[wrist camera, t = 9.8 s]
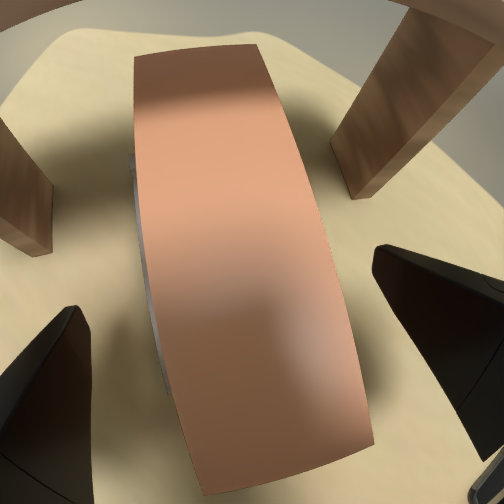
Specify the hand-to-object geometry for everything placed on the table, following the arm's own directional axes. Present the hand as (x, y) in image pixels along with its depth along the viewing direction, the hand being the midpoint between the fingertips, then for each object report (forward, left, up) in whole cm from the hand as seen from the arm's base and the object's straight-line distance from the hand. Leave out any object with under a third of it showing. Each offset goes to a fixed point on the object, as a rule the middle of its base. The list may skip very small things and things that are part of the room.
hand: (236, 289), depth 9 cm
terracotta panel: (+1, 0, -8) cm, 8 cm away
